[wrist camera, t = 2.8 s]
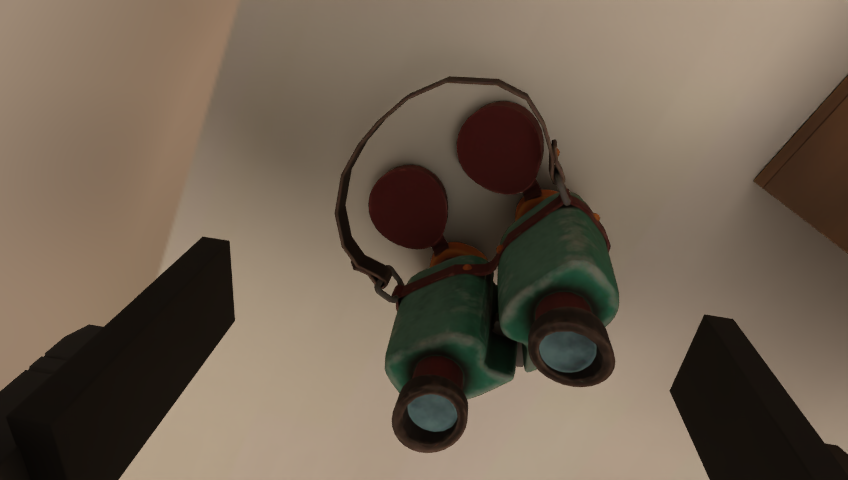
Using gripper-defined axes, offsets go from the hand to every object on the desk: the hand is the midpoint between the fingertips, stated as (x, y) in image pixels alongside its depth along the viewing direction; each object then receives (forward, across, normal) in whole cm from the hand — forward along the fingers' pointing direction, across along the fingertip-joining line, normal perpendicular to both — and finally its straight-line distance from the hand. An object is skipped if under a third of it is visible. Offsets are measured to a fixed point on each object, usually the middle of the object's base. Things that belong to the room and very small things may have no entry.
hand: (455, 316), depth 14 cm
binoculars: (+9, 0, 0) cm, 9 cm away
